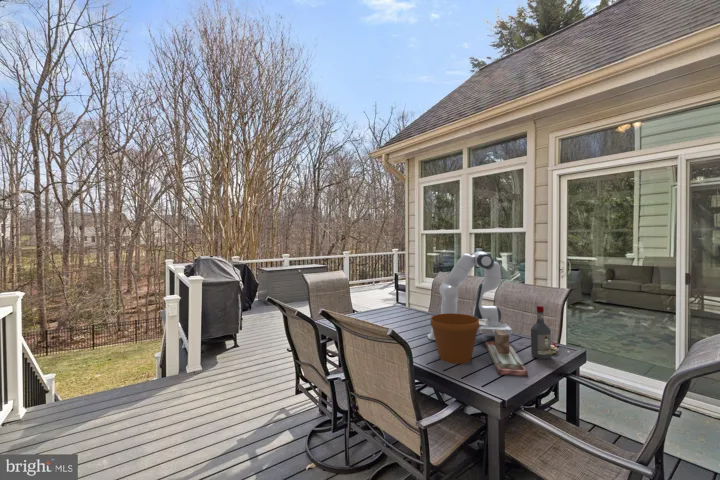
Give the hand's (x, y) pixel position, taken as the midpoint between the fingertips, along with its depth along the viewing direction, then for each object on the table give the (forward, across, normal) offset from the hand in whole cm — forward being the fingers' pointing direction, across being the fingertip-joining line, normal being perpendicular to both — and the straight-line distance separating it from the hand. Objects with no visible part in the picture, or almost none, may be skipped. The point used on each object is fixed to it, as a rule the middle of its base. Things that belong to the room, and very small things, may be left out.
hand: (497, 333), depth 218 cm
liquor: (+15, +22, +9) cm, 28 cm away
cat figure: (-1, +30, +9) cm, 31 cm away
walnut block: (+16, 0, +6) cm, 17 cm away
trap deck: (+23, 0, +8) cm, 24 cm away
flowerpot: (+25, -28, +9) cm, 38 cm away
